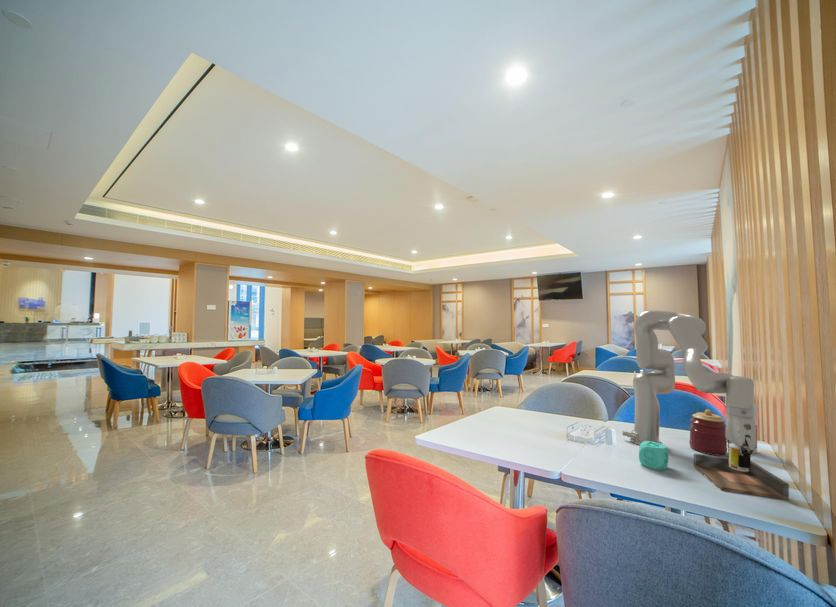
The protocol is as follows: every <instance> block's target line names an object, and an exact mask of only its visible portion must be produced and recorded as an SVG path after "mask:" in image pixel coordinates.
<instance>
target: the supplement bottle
mask: <svg viewBox="0 0 836 607" xmlns="http://www.w3.org/2000/svg"><path fill="white" fill-rule="evenodd" d="M743 446H746V445H743ZM746 447H747V446H746ZM728 449H729V467H730V468H732V469H734V470H737V471H742V472H748V471H749V470H750V468H743V467H739V466H738V455H740V452H739V446H737V445H736V444H734V443H730V444H729V448H728ZM744 450H745V448H743V451H744Z"/></svg>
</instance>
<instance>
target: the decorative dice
mask: <svg viewBox="0 0 836 607" xmlns="http://www.w3.org/2000/svg"><path fill="white" fill-rule="evenodd" d="M638 459H639V460H638V461H639V463H640V464H641V465H642V466H644V467H645V468H649V469H651V470H655V471H656V470H657V471H665V470H666V469H667V468H668V465H669V449H668V447H667V446H666V445H664V443H663V444H660V443H656V442H651V441H644V442H642V443H641V445H639V448H638Z"/></svg>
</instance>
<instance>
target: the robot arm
mask: <svg viewBox="0 0 836 607" xmlns="http://www.w3.org/2000/svg"><path fill="white" fill-rule="evenodd" d="M706 325H707V324H706V323H705V322H704V320H703V319H701V318H700V317H698V316H694V315H690V314H685V313H681V312H680V313H679V312H675V311H665V310H664V311H663V310H645V311H641V312H640V313H639V314H638V315H637V316H636V317H635V321H634V325H633V326H634V333H635V340H636V341H635V342H636V343H635V350H636V351H635V352H636V353H635V355H636V357H635V358H636V364H637V366H638V367H639V368H640V369H642V370H648V371H650V370H651V371H652V370H653V371H654V372H640V373H638V374H636V375H635V376H634V377H633V379H632V385H633V390H634V427H633V429H632V430H631V431H625V430H623V431H622V434H621V435H622V436H623V437H624V436H625V437H627V438H629V440H630V442H632V443H633V444H635V445H639V446H640V445H641V443H642V442H644V441H651V442H656V443H660V444H663V445H664V443H663V442H662V441H660V412H661V410H660V409H661V408H660V401H659V398H658V397H657V395H669V394H670V393H672V392H673V391H674V390H675V387H676V386H675V385H676V373H675V372H676V371H675V370H676V364H675V358H674V356H673V355H672V353H671V352H670V351H668V350H667V349H665V348H659V340H658V339H659V338H658V336H657V334H656V332H655V330H657V331H669V332H670V334H671V335H672V337H673V339H674V341H675V342H676V343H677V345H678V347H679V348H680V350H681V351H682V353H683V359H682V360H683V361H682V362H683V371H684V372H685V375H686V376H687V378H688V380H689V381H690V382H691V384H692V385H693V387H694V388H695V389H696V390H697V391H699V392H700V393H704V394H725V415H726V418H725V424H726V428H725V434H726V438H727V453H728V454H727V458H728V459H729V444H730V443H734V444H736V445H737V446H739V452H740V455H738V466H739V467H743V468H750V461H751V457H752V455H753V454H752V452H753V451H754V448H756V429H755V423H754V403H755V381H754V379H753V378H750V377H746V376H738V375H732V374H729V373H727V372H726V373H725V372H708V371H707V369H706V368H705V367H704V364H703V363H702V360H701V355H702V354H704V353H705V352H707V350H708V348H709V345H708V344H707V342H706V340H705V339H704V338H703V337H702V336H703V335H704V334H705V332H706V330H707V326H706ZM743 445H746V446H747V447H746V446H743ZM743 448H745V450H744V451H743Z"/></svg>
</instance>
